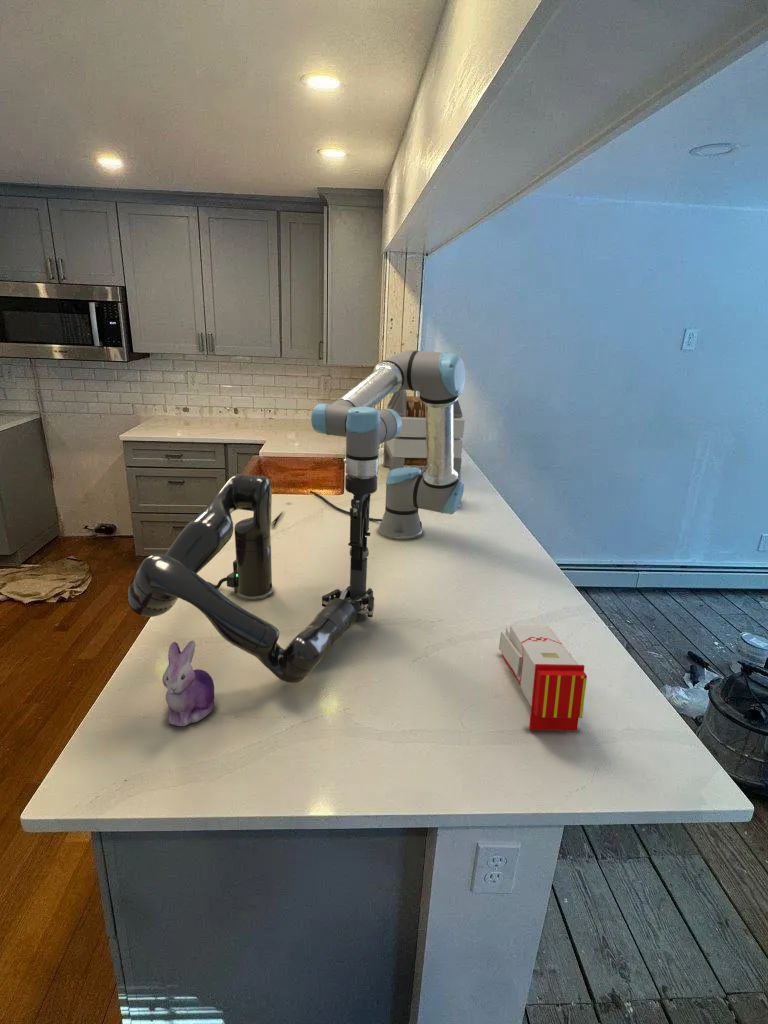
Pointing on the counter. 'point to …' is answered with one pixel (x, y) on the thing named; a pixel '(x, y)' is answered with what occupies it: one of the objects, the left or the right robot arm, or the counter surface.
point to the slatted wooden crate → (417, 434)
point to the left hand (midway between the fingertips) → (362, 589)
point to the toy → (545, 676)
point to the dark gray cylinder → (358, 584)
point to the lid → (365, 552)
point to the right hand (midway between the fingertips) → (358, 564)
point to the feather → (276, 520)
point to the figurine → (187, 687)
